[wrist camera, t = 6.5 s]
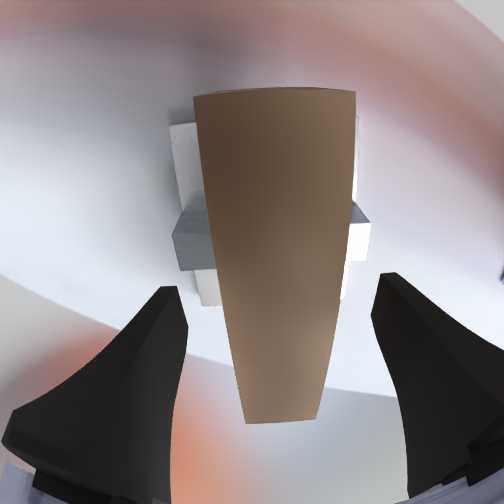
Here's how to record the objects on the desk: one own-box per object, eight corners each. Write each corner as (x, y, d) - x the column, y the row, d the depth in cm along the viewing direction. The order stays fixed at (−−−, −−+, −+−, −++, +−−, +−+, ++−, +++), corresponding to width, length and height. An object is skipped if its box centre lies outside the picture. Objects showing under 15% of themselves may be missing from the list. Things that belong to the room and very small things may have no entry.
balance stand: (355, 115, 13) (378, 124, 10) (341, 291, 19) (352, 324, 16) (171, 125, 13) (153, 135, 11) (202, 300, 19) (197, 334, 17)
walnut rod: (311, 87, 10) (355, 91, 6) (304, 346, 17) (315, 419, 13) (217, 91, 10) (193, 96, 6) (246, 350, 17) (245, 423, 13)
